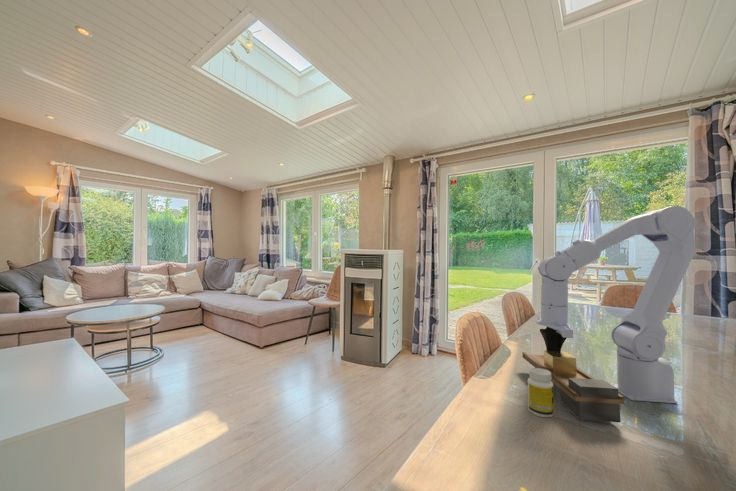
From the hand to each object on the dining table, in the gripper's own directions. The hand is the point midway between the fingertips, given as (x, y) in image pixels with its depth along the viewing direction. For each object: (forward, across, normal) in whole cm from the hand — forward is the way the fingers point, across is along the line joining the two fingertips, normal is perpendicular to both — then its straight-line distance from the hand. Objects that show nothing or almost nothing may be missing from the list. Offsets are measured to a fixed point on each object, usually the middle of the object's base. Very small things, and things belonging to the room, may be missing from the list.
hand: (553, 359), depth 76 cm
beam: (+6, +4, 0) cm, 7 cm away
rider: (+2, +3, 0) cm, 4 cm away
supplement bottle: (+7, +14, -8) cm, 18 cm away
